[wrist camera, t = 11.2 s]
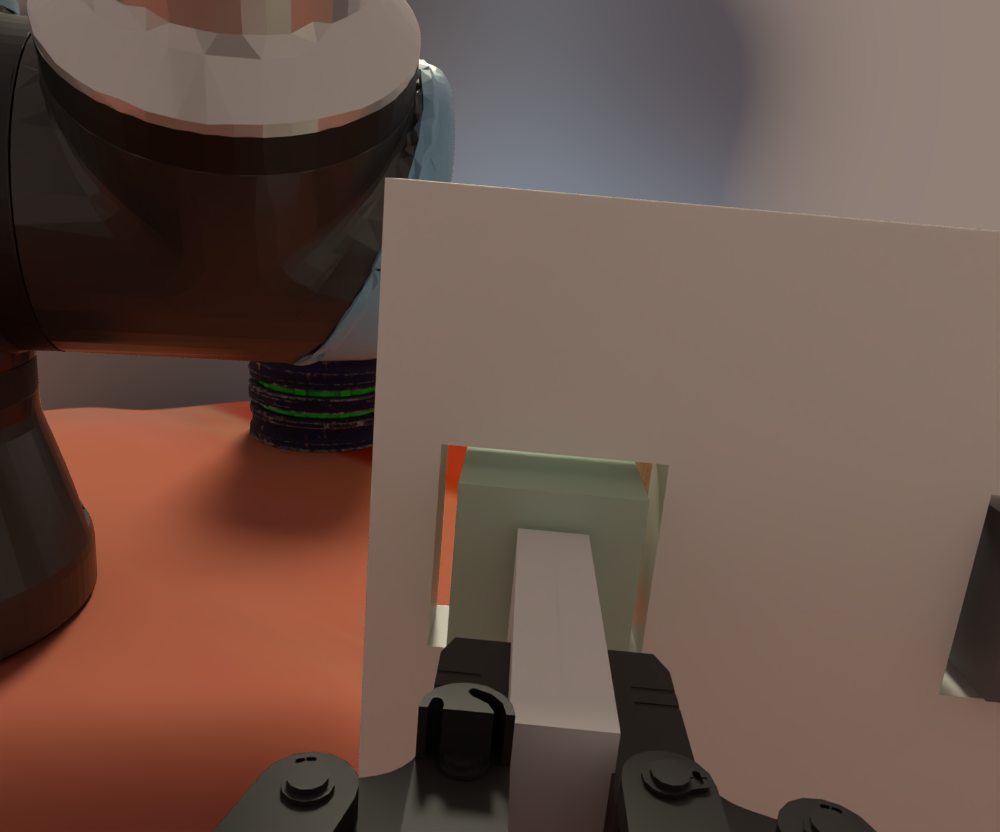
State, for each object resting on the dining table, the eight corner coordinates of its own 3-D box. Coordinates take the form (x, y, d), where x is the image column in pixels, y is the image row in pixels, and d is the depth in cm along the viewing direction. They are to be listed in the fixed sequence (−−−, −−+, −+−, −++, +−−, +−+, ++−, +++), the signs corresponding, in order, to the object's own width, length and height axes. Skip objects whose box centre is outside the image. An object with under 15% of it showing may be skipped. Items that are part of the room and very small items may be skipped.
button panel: (352, 895, 22) (385, 177, 17) (390, 745, 27) (422, 179, 22) (1126, 972, 21) (1387, 266, 16) (999, 804, 27) (1165, 245, 22)
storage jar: (257, 456, 53) (258, 217, 49) (240, 413, 62) (239, 207, 58) (406, 449, 57) (419, 227, 53) (370, 409, 66) (379, 217, 62)
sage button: (445, 652, 18) (458, 482, 17) (466, 540, 24) (477, 408, 23) (626, 668, 18) (649, 500, 17) (603, 553, 24) (620, 421, 23)
